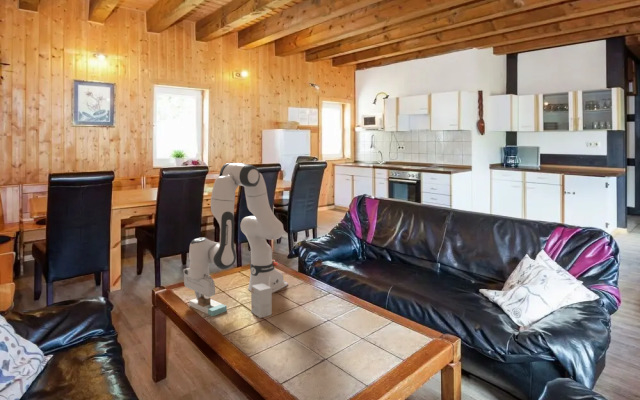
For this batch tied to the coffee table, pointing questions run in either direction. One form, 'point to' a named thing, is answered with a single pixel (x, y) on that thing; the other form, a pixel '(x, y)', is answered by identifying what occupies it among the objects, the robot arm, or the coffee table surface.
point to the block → (204, 301)
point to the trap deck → (209, 307)
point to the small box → (261, 300)
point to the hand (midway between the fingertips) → (199, 300)
